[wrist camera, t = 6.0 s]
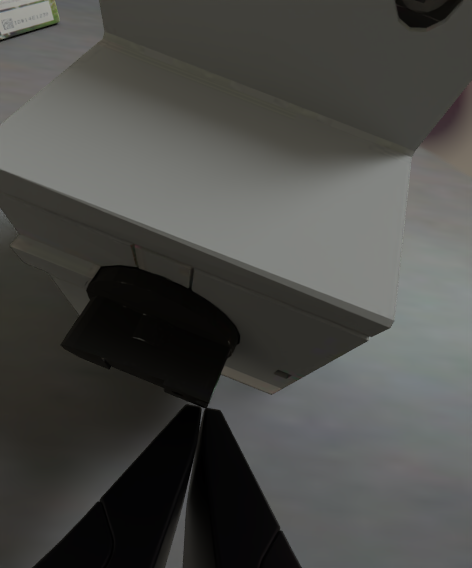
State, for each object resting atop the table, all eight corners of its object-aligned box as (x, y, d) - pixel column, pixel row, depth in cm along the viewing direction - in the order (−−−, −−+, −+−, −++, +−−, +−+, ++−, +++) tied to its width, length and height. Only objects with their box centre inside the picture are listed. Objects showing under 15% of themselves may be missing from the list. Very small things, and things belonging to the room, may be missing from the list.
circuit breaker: (82, 381, 14) (-1116, -467, 1) (203, 176, 21) (249, -274, 8) (238, 445, 14) (1133, 399, 1) (308, 217, 21) (531, -171, 8)
